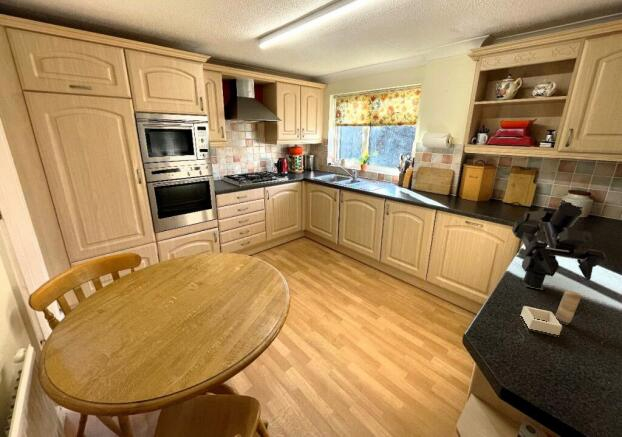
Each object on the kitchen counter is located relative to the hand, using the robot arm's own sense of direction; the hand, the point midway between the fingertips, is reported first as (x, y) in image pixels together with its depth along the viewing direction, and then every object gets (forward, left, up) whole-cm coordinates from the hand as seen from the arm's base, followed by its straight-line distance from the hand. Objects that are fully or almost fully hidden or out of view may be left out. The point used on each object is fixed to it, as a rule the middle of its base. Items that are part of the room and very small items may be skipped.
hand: (569, 276), depth 81 cm
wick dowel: (+3, +1, -14) cm, 15 cm away
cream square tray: (+9, -7, -14) cm, 18 cm away
